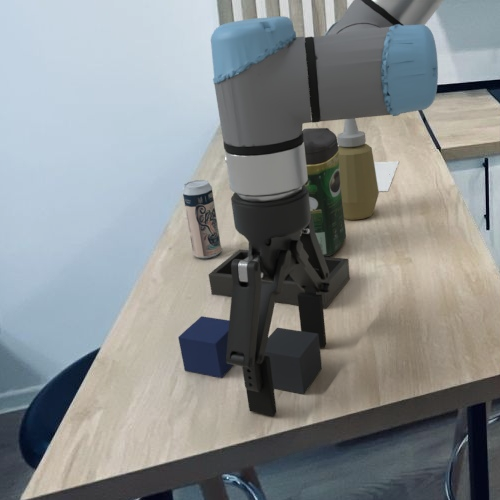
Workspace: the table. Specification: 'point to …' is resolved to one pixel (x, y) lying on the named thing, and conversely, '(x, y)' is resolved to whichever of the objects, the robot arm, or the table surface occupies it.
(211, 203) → the beer can
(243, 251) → the divided tray
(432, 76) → the robot arm
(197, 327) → the navy blue cube
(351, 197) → the squeeze bottle
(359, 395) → the table surface
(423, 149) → the table surface
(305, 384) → the charcoal cube
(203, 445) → the table surface
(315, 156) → the coffee jar
